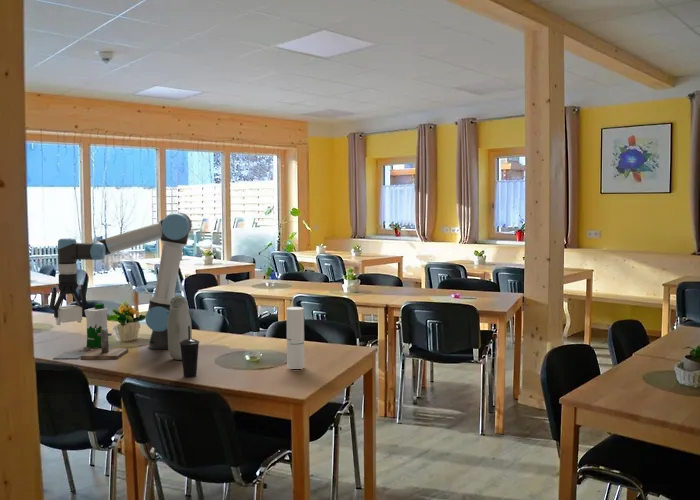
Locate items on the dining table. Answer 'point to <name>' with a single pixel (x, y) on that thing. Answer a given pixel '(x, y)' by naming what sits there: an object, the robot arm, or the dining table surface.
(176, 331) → the grey bottle
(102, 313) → the milk carton
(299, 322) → the cylindrical container
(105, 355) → the post stand
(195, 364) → the drinking cup
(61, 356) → the mat
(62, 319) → the white drawer box
